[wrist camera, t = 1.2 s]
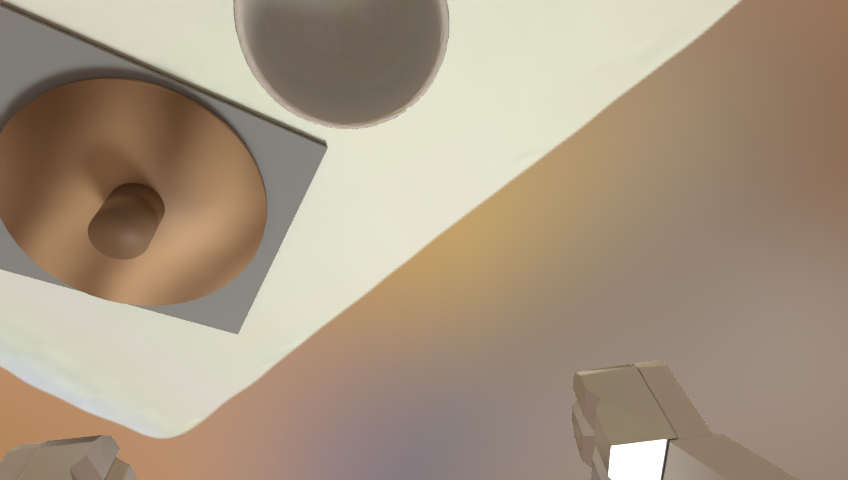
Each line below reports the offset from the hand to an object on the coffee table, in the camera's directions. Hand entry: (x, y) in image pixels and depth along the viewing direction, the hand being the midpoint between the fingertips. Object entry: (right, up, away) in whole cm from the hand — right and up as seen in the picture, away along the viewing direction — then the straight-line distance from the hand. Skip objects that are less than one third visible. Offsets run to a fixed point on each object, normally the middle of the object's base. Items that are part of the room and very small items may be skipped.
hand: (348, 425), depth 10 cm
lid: (-18, +6, +28) cm, 34 cm away
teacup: (-2, +19, +24) cm, 31 cm away
